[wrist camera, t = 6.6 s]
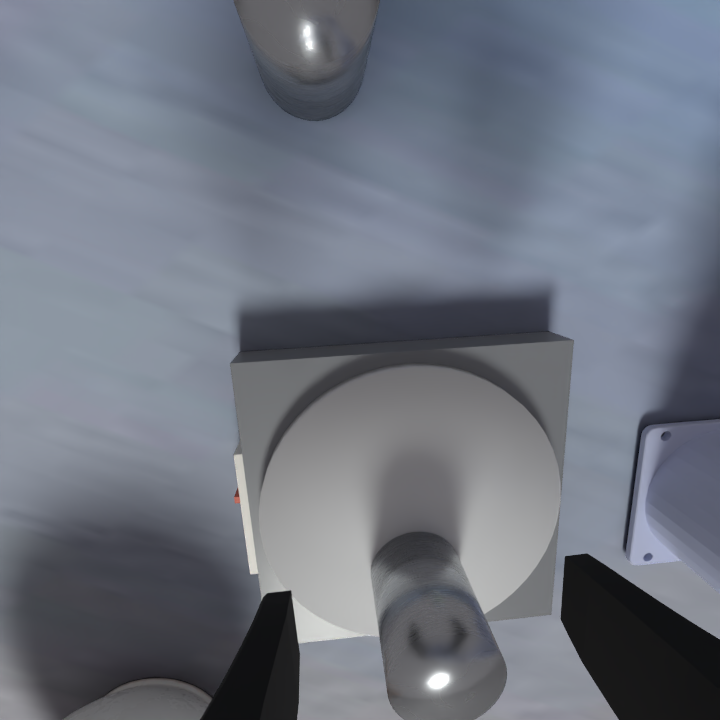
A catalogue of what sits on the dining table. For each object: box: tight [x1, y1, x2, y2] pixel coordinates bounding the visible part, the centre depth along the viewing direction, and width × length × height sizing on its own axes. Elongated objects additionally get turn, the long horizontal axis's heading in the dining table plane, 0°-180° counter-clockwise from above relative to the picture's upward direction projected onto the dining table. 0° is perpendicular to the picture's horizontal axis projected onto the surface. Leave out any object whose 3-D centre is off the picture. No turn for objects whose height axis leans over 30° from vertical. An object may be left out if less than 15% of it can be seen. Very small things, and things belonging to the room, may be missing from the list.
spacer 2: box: [371, 532, 507, 720], centre depth 16 cm, size 4×4×5 cm
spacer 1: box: [234, 0, 380, 121], centre depth 13 cm, size 4×4×5 cm
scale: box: [230, 331, 574, 643], centre depth 19 cm, size 15×14×3 cm
